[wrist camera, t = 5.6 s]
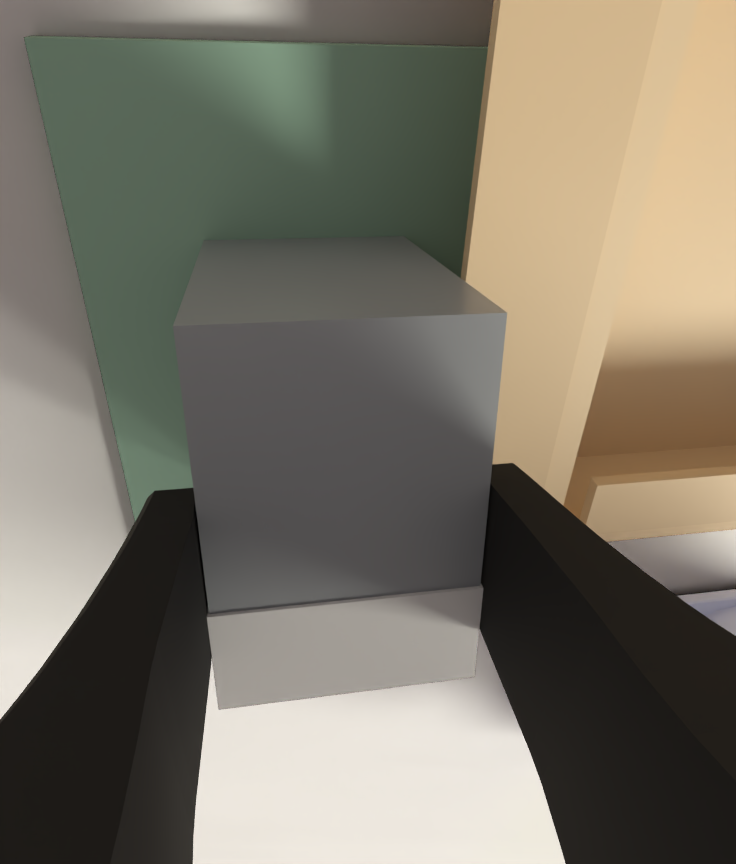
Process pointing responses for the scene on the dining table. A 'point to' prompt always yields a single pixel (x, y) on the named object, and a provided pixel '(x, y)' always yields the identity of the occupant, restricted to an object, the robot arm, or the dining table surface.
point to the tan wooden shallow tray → (613, 255)
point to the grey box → (338, 462)
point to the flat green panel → (237, 182)
